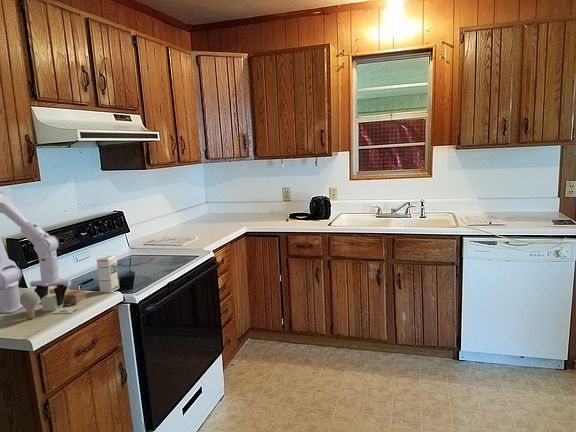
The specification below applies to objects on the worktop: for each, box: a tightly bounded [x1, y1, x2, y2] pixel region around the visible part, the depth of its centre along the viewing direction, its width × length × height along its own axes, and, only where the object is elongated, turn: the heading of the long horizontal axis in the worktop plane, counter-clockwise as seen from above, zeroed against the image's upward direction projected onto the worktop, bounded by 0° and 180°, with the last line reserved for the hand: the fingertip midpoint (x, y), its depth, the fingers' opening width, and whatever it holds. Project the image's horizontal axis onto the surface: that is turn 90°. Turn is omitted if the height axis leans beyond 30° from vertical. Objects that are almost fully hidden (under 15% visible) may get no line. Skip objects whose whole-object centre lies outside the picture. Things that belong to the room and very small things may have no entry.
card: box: [51, 307, 75, 315], centre depth 153 cm, size 7×5×1 cm
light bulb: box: [19, 290, 39, 320], centre depth 145 cm, size 6×6×10 cm
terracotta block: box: [48, 286, 70, 294], centre depth 167 cm, size 5×5×5 cm
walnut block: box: [63, 290, 87, 304], centre depth 163 cm, size 6×6×4 cm
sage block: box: [40, 293, 65, 312], centre depth 156 cm, size 5×5×5 cm
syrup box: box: [96, 255, 120, 293], centre depth 176 cm, size 6×6×14 cm
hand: (53, 305), depth 156 cm, fingers closed on sage block, 5 cm apart
